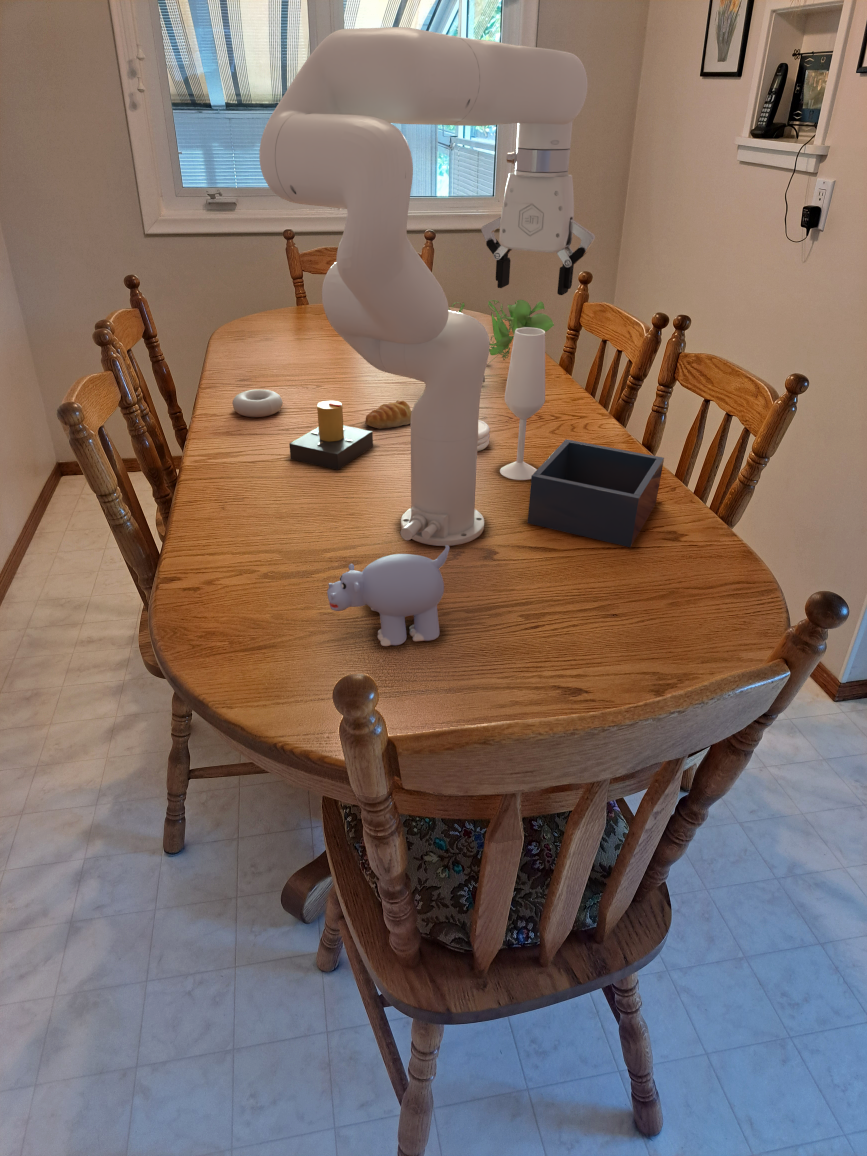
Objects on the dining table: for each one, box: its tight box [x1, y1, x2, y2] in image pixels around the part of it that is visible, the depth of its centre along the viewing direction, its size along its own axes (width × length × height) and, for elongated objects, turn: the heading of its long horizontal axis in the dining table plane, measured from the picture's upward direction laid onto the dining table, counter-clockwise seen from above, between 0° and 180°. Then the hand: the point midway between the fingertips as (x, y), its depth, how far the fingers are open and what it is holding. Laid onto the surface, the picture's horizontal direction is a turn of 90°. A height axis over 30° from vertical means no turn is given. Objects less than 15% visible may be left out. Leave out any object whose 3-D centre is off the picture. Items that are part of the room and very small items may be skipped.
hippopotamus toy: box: [326, 545, 451, 647], centre depth 94 cm, size 11×15×10 cm
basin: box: [527, 439, 665, 548], centre depth 120 cm, size 16×16×8 cm
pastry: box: [364, 400, 412, 430], centre depth 153 cm, size 9×7×4 cm
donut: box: [232, 388, 283, 418], centre depth 158 cm, size 10×4×10 cm
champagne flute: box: [499, 327, 546, 481], centre depth 128 cm, size 7×7×24 cm
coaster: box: [477, 419, 491, 452], centre depth 144 cm, size 10×10×4 cm
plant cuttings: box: [449, 299, 555, 385], centre depth 174 cm, size 35×17×22 cm
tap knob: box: [316, 400, 344, 442], centre depth 138 cm, size 4×4×6 cm
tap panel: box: [288, 424, 374, 471], centre depth 140 cm, size 12×10×3 cm
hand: (532, 289), depth 119 cm, fingers open, 9 cm apart
